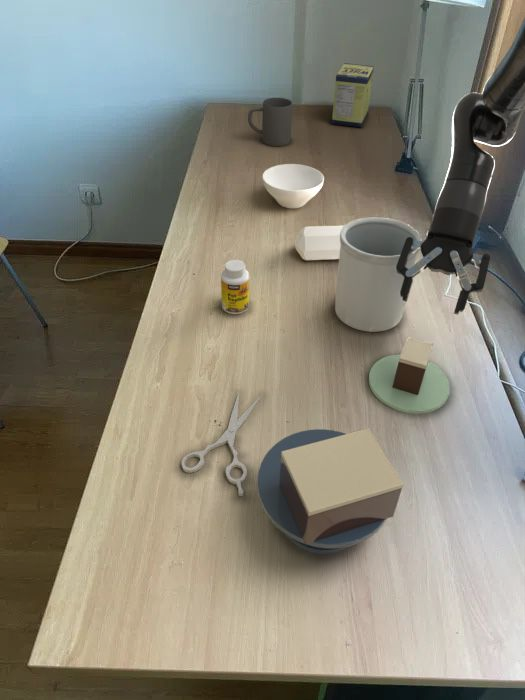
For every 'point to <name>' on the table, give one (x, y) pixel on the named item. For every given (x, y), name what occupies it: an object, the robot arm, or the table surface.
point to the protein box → (352, 94)
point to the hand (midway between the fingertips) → (430, 307)
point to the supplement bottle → (235, 287)
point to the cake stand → (328, 488)
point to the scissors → (225, 438)
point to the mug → (274, 121)
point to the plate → (426, 401)
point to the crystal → (319, 242)
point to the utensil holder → (372, 273)
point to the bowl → (292, 184)
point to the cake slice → (412, 365)
